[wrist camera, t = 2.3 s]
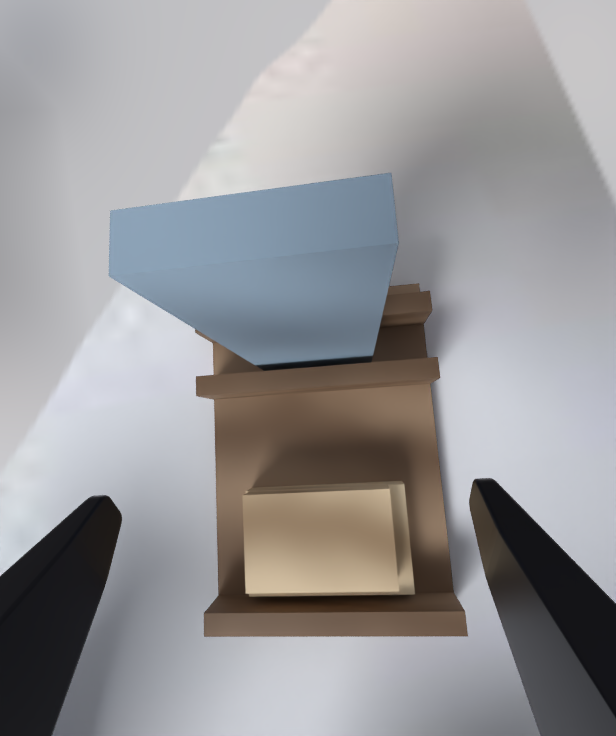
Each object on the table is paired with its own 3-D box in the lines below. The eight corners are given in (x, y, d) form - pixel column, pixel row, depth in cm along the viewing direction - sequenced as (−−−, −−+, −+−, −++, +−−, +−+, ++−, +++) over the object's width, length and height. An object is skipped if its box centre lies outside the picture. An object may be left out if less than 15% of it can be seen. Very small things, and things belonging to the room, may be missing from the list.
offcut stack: (411, 584, 19) (419, 606, 17) (255, 586, 20) (241, 607, 18) (401, 480, 20) (407, 488, 18) (251, 487, 21) (238, 495, 19)
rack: (452, 606, 20) (471, 642, 16) (224, 609, 21) (200, 642, 18) (416, 288, 22) (426, 264, 19) (216, 308, 24) (194, 289, 20)
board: (371, 362, 21) (398, 242, 7) (264, 371, 22) (108, 276, 8) (369, 336, 21) (391, 172, 8) (263, 345, 22) (110, 210, 8)
